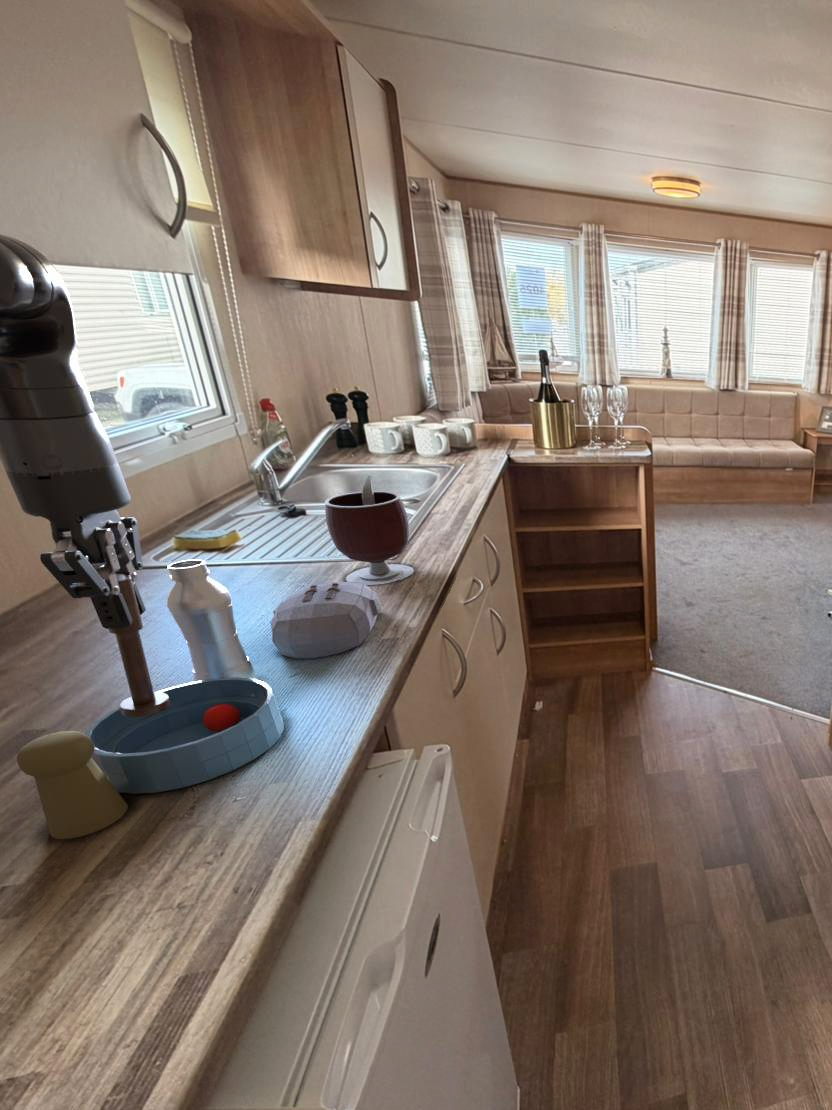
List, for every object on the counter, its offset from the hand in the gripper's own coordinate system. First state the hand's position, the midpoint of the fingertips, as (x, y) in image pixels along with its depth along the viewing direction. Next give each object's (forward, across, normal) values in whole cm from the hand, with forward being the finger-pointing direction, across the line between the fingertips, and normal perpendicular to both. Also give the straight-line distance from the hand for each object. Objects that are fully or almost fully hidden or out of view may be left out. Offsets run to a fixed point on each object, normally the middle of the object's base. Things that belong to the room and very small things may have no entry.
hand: (125, 620), depth 69 cm
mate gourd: (+20, -65, +13) cm, 69 cm away
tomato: (+18, -8, +2) cm, 19 cm away
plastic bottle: (+21, -20, -1) cm, 29 cm away
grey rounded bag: (+21, -36, +9) cm, 42 cm away
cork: (+21, +7, -6) cm, 23 cm away
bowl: (+20, -4, 0) cm, 21 cm away
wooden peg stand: (+11, 0, -1) cm, 11 cm away
